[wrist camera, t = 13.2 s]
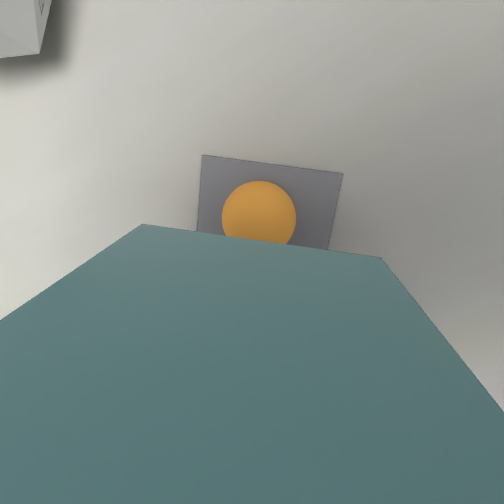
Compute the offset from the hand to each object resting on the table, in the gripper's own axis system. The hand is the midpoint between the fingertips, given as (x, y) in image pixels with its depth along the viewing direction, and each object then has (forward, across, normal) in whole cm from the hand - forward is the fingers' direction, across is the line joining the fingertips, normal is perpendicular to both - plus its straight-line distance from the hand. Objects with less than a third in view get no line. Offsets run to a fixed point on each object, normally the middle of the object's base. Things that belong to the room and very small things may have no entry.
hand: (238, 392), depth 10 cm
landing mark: (+17, 0, 0) cm, 17 cm away
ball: (+14, 0, -2) cm, 14 cm away
